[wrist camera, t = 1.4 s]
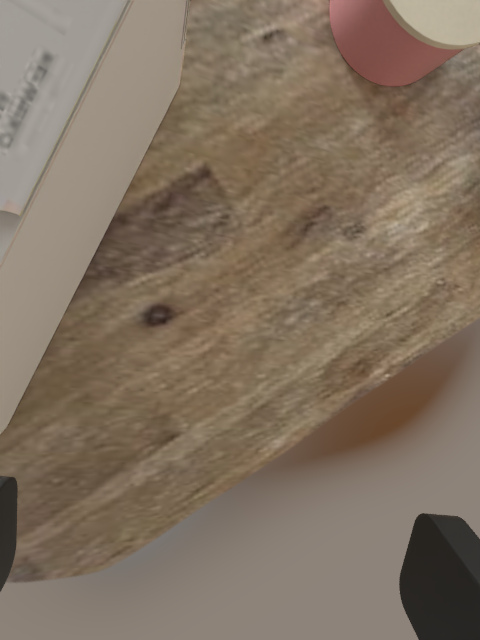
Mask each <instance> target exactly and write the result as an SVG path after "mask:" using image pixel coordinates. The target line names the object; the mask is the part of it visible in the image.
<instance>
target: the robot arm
mask: <svg viewBox="0 0 480 640" xmlns="http://www.w3.org/2000/svg"><path fill="white" fill-rule="evenodd" d="M17 490H18V489H17V481H16V479H15V478H14V477H4V476H0V591H1V590H2V588H3V586H4V584H5V582H6V580H7V578H8V575H9V573H10V570H11V567H12V564H13V560H14V556H15V550H16V531H17ZM399 585H400V595H401V600H402V604H403V607H404V609H405V611H406V614H407V616H408V618H409V620H410V622H411V624H412V626H413V628H414V630H415V632H416V635H417V637H418V639H419V640H480V539H479V538H478V537H477V535H476V534H475V533H474V532H473V530H472V529H471V528H470V527H469V525H468V524H467V523H466V522H465V521H464V520H463V519H462V518H460V517H458V516H448V515H436V514H424V513H423V514H420V515H419V516H418V517H417V518H416V520H415V523H414V526H413V530H412V534H411V537H410V541H409V544H408V548H407V552H406V555H405V559H404V562H403V566H402V570H401V573H400V584H399Z"/></svg>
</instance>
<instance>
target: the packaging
mask: <svg viewBox="0 0 480 640" xmlns="http://www.w3.org/2000/svg"><path fill="white" fill-rule="evenodd" d="M190 1H191V0H0V434H1V433H2V432H3V431H4V430H5V428H6V427H7V426H8V424H9V422H10V420H11V418H12V416H13V414H14V412H15V410H16V408H17V406H18V404H19V402H20V400H21V398H22V396H23V394H24V392H25V390H26V388H27V386H28V384H29V382H30V380H31V378H32V376H33V374H34V372H35V370H36V368H37V366H38V364H39V362H40V360H41V358H42V357H43V355H44V353H45V351H46V349H47V347H48V345H49V343H50V341H51V339H52V337H53V335H54V333H55V331H56V329H57V327H58V325H59V323H60V321H61V319H62V317H63V315H64V313H65V311H66V309H67V307H68V305H69V303H70V301H71V299H72V297H73V295H74V293H75V291H76V289H77V287H78V285H79V283H80V281H81V279H82V278H83V276H84V274H85V272H86V270H87V268H88V266H89V264H90V262H91V260H92V258H93V256H94V254H95V252H96V250H97V248H98V246H99V244H100V242H101V240H102V238H103V236H104V234H105V232H106V230H107V228H108V226H109V224H110V222H111V220H112V218H113V216H114V214H115V212H116V210H117V208H118V206H119V204H120V202H121V200H122V198H123V197H124V195H125V193H126V191H127V189H128V187H129V185H130V183H131V181H132V179H133V177H134V175H135V173H136V171H137V169H138V167H139V165H140V163H141V161H142V159H143V157H144V155H145V153H146V151H147V149H148V147H149V145H150V143H151V141H152V139H153V137H154V135H155V133H156V131H157V129H158V127H159V125H160V123H161V121H162V119H163V117H164V116H165V114H166V112H167V110H168V108H169V106H170V104H171V102H172V100H173V98H174V96H175V94H176V92H177V90H178V88H179V86H180V81H181V73H182V66H183V58H184V51H185V44H186V39H185V38H186V31H187V23H188V16H189V8H190Z"/></svg>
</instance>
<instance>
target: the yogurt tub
mask: <svg viewBox="0 0 480 640" xmlns="http://www.w3.org/2000/svg"><path fill="white" fill-rule="evenodd" d="M329 11H330V23H331V29H332V33H333V36H334V39H335V42H336V44H337V47H338V49H339V50H340V52H341V54H342V56H343V57H344V59H345V60H346V61H347V63H348V64H349V65H350V66H351V67H352V68H353V69H354V70H355V71H356V72H357V73H358V74H360V75H361V76H362V77H364V78H366V79H367V80H369V81H371V82H374V83H376V84H380V85H384V86H403V85H408V84H411V83H414V82H416V81H418V80H420V79H421V78H423V77H424V76H426V75H427V74H429V73H430V72H431V71H433V70H434V69H436V68H437V67H439V66H440V65H442V64H443V63H444V62H446V61H447V60H449V59H450V58H452V57H453V56H455V55H456V54H457V53H459V52H460V51H462V50H463V49H465V48H470V47H473V46H476V45H478V44H480V0H330V8H329Z"/></svg>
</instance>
